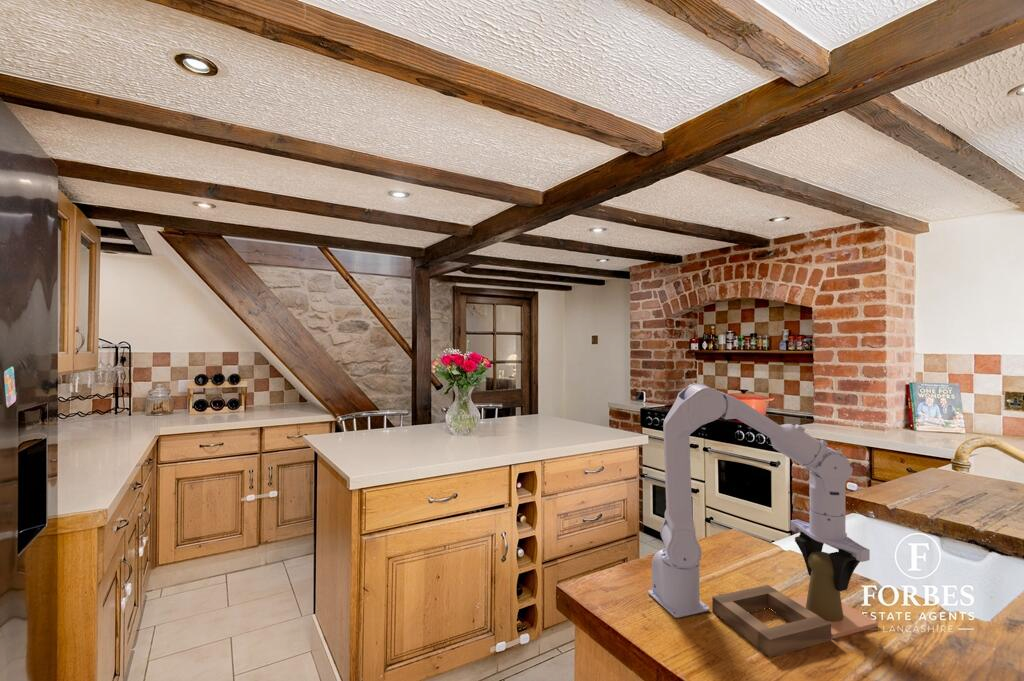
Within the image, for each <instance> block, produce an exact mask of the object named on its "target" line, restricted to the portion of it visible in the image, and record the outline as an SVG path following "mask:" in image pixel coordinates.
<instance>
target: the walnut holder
mask: <svg viewBox="0 0 1024 681" xmlns="http://www.w3.org/2000/svg"><path fill="white" fill-rule="evenodd" d="M711 599H712V600H711V601H712V602H711V603H712V613H713V614H714V615H716V616H717V617H718V616H719V617H720V618H719V617H718V618H719V619H721V620H722V619H723V620H724V621H725V622H724V621H723V620H722V621H723V622H724V623H725V624H727V625H728V626H729V625H730V626H729V627H731V628H732V629H733V630H734V631H736V632H737V631H738V632H739V633H738V632H737V633H738V634H740V635H741V636H742V637H743V636H744V637H743V638H745V639H746V640H747V641H748V642H750V643H751V644H753V645H754V646H755V647H756V648H757V649H758V650H759V651H761V652H762V653H763V654H765V655H766V656H767V657H769V658H773V657H776V656H780V655H784V654H788V653H790V652H795V651H798V650H802V649H805V648H810V647H813V646H816V645H821V644H824V643H828V642H832V638H831V623H829V622H828V621H826V620H824V619H823V618H821V617H819V616H818V615H816V614H815V613H813V612H811V611H810V610H808V609H806V608H805V607H803V606H802V605H800V604H798V603H797V602H795V601H793V600H792V599H791V597H789V596H788V595H786V594H784V593H782V592H780V591H779V590H777V589H776V588H774V587H772V586H771V585H769V584H766V585H761V586H756V587H753V588H752V587H751V588H747V589H746V588H745V589H743V590H737V591H732V592H728V593H723V594H719V595H714V596H712V598H711ZM764 608H770V609H772V610H773V611H774V612H776V613H777V614H779V615H780V616H781V617H780V616H779V615H778V616H779V617H780V618H782V617H783V618H784V619H783V618H782V619H783V620H785V621H786V622H787V621H788V622H787V623H784V624H778V625H775V626H772V627H769V626H768V625H766V624H764V623H763V622H762V621H761V620H760V619H758V618H757V617H755V616H754V615H752V613H753V612H752V611H756V610H760V611H763V610H762V609H764ZM770 609H769V610H770ZM764 610H765V609H764ZM773 611H772V612H773ZM748 612H751V613H748ZM756 612H757V611H756ZM774 612H773V613H774ZM776 613H775V614H776ZM777 614H776V615H777Z"/></svg>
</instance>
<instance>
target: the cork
mask: <svg viewBox="0 0 1024 681" xmlns="http://www.w3.org/2000/svg"><path fill="white" fill-rule="evenodd" d="M808 564H809V567H810V568H811V576H810V577H809V578H810V579H809V584H808V590H807V595H808V596H807V602H806V609H808V610H810V611H811V612H813V613H815V614H816V615H818V616H819V617H821V618H823V619H824V620H826V621H831V622H838V621H841V620H843V610H842V603H843V602H842V598H841V591H838V590H836V588H835V582H834V569H833V564H832V561H831V558H830V556H829V552H824V551H822V552H812V553H811V554H810V555H809V558H808ZM841 602H842V603H841Z"/></svg>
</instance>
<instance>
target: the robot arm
mask: <svg viewBox="0 0 1024 681" xmlns="http://www.w3.org/2000/svg"><path fill="white" fill-rule="evenodd" d="M719 418H722V419H724V420H733V419H736V420H738V421H740V422H742V423H744V424H745V425H747V426H749V427H750V428H752V429H754V430H755V431H757V432H759V433H761V434H763V435H764V436H766V437H767V438H769V439H770V442H771V446H772V448H773V450H776V451H777V452H779V453H780V454H782V455H784V456H786V457H787V458H789V459H791V460H792V461H794V462H795V463H797V464H798V465H799V466H801V467H804V468H805V469H807V471H809V493H808V494H809V516H808V517H809V522H806V521H804V520H801V519H799V518H798V519H792V520H790V531H793V532H797V533H799V535H798V536H795V537H794V542H795V543H796V545H797V547H798V548H799V551H800V553H801V555H802V557H803V560H804V563H805V567H806V570H807V573H808V575H809V576H810V577H811V568H810V567H809V564H808V558H809V555H810V554H811V553H812V552H823V548H824V544H825V545H826V546H829V547H832V548H834V549H836V550H838V551H835V552H834V551H833V552H830V553H829V552H828V553H829V556H830V558H831V561H832V564H833V569H834V582H835V588H836V590H838V591H840V592H841V591H842V592H843V591H847V590H848V588H849V583H850V580H851V578H852V576H853V574H854V571H855V570H856V568H857V567H858V565H859V563H863V562H868V561H871V560H870V553H871V552H870V549H869V548H867V547H864V546H863V545H861V544H859V543H858V542H856V541H855V540H853V539H852V538H850V537H848V533H847V531H846V484H847V481H848V480H849V479H850V477H852V474H853V470H854V468H853V467H852V466H851V463H850V460H848V457H847V456H845V454H843V453H841V452H839V451H837V450H835V449H833V448H831V447H829V446H828V442H826V441H825V440H823V439H817V438H815V437H814V436H812V435H810V434H808V433H807V432H805V430H806V428H805V427H803V426H801V425H799V424H797V423H796V424H795V425H793V424H792V423H784V424H779V423H777V422H775V421H774V420H772V419H771V418H769V417H767V416H766V415H764V414H763V413H761V412H759V411H758V410H757V409H755V408H753V407H752V406H750V405H748V404H747V403H745V402H744V401H743V400H741V399H738V398H737V397H735V396H732V395H730V394H727V393H725V392H723V391H720V390H718V389H715V388H713V387H709V386H708V385H707V384H704V383H701V382H695V383H691V384H689V385H688V386H687V387H685V388H684V389H683V390H681V391H680V392H678V393H677V396H676V398H675V401H674V403H673V405H672V406H671V408H670V409H669V411H668V413H667V415H666V416H665V418H664V420H663V425H662V428H663V431H662V432H663V453H664V455H663V456H664V458H663V459H664V460H663V461H664V480H665V481H664V482H665V501H666V502H665V506H666V508H665V511H664V518H663V523H662V524H661V527H660V537H661V540H662V541H663V543H664V547H663V549H660V550H658V551H657V552H656V553H655V554H654V556H653V557H652V560H651V589H648V590H647V593H648V595H650V596H651V597H652V598H653V600H655V601H656V602H657V603H658V604H660V605H661V606H662V607H663V608H664V609H665V610H666V611H667V612H668V613H669V614H670V615H672V616H673V618H677V619H678V618H682V617H683V618H684V617H688V616H691V615H696V614H700V613H704V612H709V611H710V610H711V608H710V607H709V606H708V605H707V604H705V603H704V602H703V601H702V600H701V599H700V597H701V596H700V595H701V594H700V592H701V591H700V561H701V558H702V552H703V551H702V547H701V545H700V543H699V541H698V539H697V536H696V527H695V522H694V517H693V501H692V500H693V499H692V473H691V472H692V470H691V468H692V467H691V448H690V446H691V444H690V436H691V434H692V433H694V432H695V431H696V430H697V429H699V428H700V427H702V426H704V425H706V424H708V423H711V422H712V423H713V422H714V421H716V420H718V419H719Z"/></svg>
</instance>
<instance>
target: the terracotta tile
mask: <svg viewBox="0 0 1024 681" xmlns="http://www.w3.org/2000/svg"><path fill="white" fill-rule="evenodd" d="M807 596H808V594H805V595H802V596H796V597H792V598H791V597H790V599H792V600H793V601H795V602H797V603H798V604H800V605H802V606H803V607H805V608H806V602H807ZM841 603H842V610H843V620H841V621H838V622H831V621H828V622H829V623H831V640H832V639H833V640H834V639H838V638H842V637H845V636H849V635H851V634H855V633H860V632H863V631H864V632H865V631H867V630H871V629H874V628H878V627H879V626H878V625H879V623H878V621H877V620H875V619H872V618H871V617H869V616H867V615H865V614H863V613H862V612H860V611H858V610H857V609H855V608H853V607H851V606H850V605H848V604H845V603H844V602H842V601H841Z"/></svg>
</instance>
